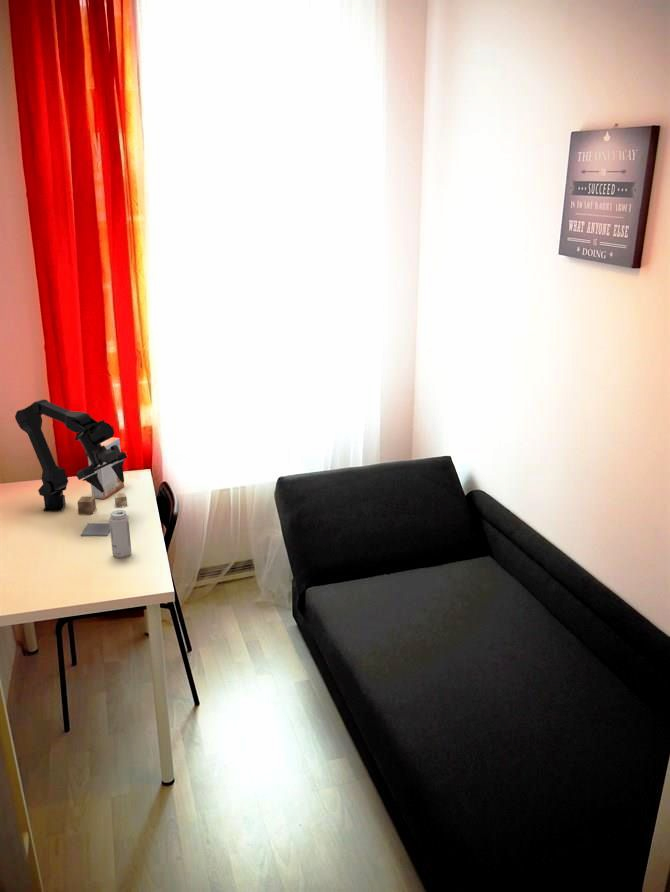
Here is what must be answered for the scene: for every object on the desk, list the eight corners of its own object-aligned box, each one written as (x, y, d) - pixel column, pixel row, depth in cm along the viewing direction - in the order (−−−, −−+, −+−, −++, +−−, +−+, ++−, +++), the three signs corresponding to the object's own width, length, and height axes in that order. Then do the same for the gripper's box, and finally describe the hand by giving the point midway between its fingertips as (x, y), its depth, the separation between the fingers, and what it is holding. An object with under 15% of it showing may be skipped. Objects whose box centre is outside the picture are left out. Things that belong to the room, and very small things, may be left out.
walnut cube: (78, 514, 276) (77, 502, 274) (82, 508, 280) (81, 496, 279) (92, 514, 276) (91, 502, 274) (96, 508, 281) (94, 496, 279)
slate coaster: (80, 536, 259) (80, 534, 259) (88, 524, 267) (88, 523, 267) (106, 536, 259) (106, 534, 259) (113, 524, 268) (113, 523, 267)
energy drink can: (111, 551, 248) (107, 510, 243) (130, 549, 250) (126, 508, 245) (113, 560, 243) (109, 518, 238) (132, 557, 245) (128, 515, 240)
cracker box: (111, 484, 302) (107, 435, 295) (124, 486, 301) (120, 437, 294) (91, 497, 290) (85, 447, 283) (104, 500, 288) (99, 449, 281)
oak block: (116, 507, 282) (115, 498, 280) (115, 503, 285) (114, 494, 284) (127, 506, 283) (126, 496, 282) (126, 502, 287) (125, 492, 285)
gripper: (83, 450, 250) (104, 491, 251) (125, 432, 264) (145, 471, 266) (66, 459, 257) (87, 499, 258) (108, 441, 271) (128, 479, 273)
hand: (113, 487), depth 264 cm, fingers open, 9 cm apart
